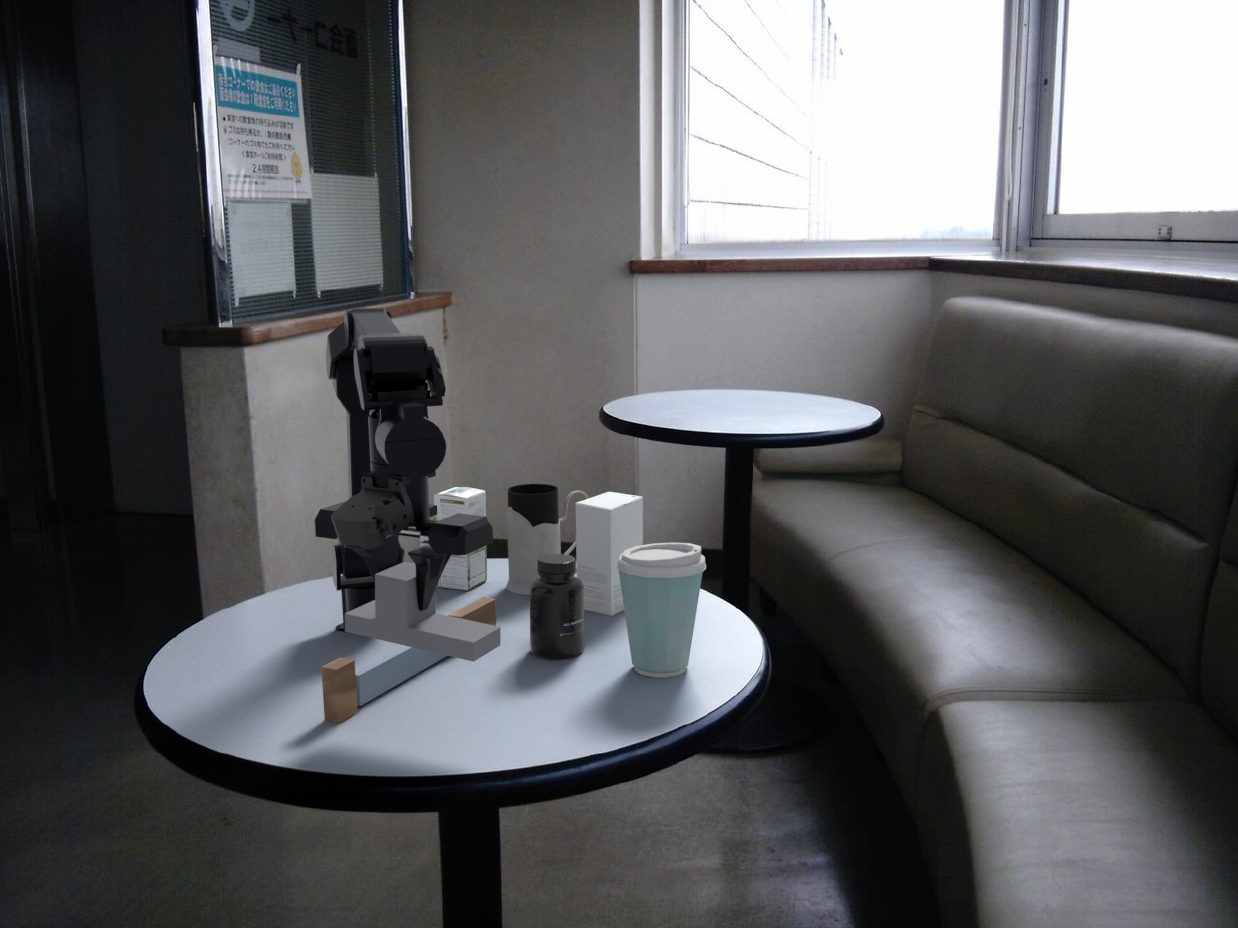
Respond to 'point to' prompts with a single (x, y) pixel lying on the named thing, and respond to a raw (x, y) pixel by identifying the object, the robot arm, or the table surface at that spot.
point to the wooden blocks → (342, 671)
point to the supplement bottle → (556, 608)
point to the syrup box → (472, 566)
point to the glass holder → (532, 531)
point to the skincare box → (605, 546)
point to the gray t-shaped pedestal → (418, 620)
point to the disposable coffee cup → (661, 604)
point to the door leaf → (391, 671)
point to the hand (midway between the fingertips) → (405, 606)
